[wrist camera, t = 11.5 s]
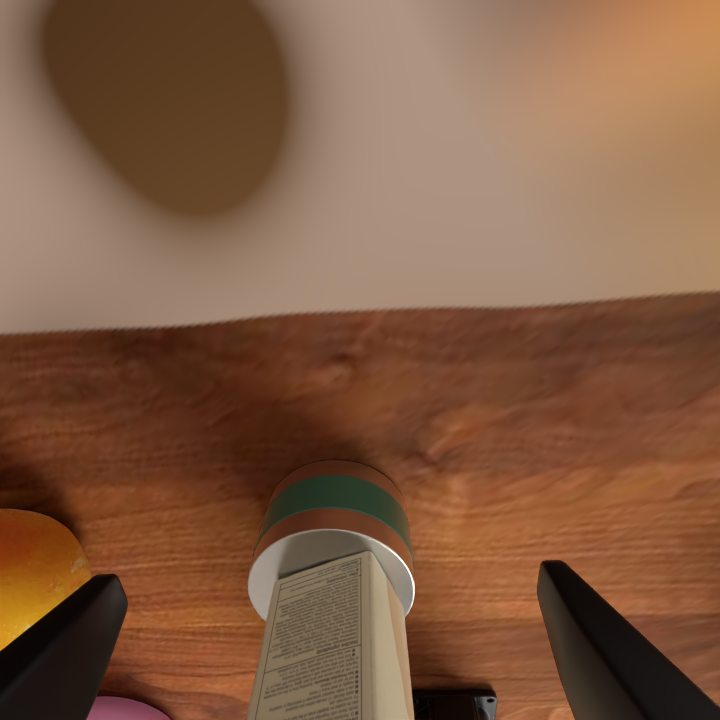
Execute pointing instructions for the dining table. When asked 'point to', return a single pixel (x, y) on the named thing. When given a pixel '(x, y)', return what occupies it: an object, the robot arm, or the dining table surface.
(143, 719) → the teapot
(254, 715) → the box
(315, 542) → the tin can
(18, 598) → the fruit
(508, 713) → the dining table surface
